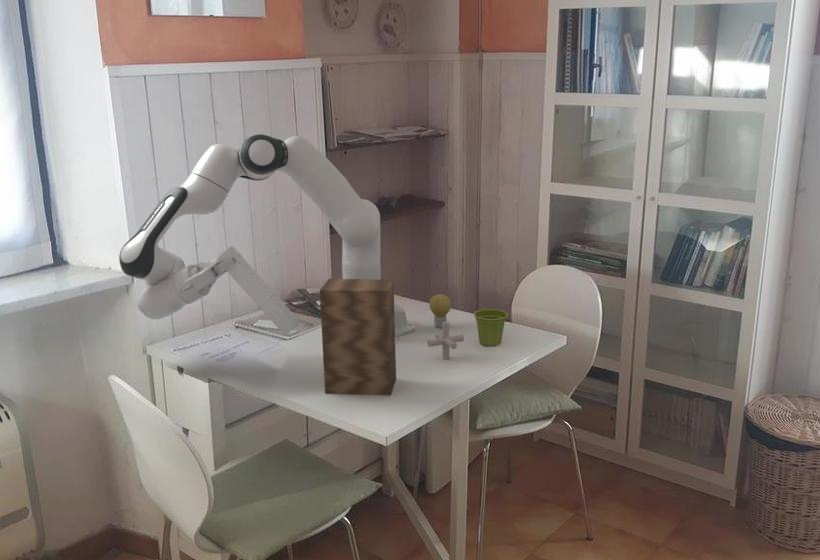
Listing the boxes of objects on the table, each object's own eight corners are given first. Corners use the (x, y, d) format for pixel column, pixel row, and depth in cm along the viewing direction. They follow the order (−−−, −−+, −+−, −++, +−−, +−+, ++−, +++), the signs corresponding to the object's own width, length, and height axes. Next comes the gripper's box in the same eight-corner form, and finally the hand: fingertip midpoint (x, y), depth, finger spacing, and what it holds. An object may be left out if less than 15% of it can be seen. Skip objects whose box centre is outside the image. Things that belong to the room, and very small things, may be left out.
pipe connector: (437, 367, 202) (436, 331, 200) (421, 355, 211) (420, 320, 208) (471, 361, 206) (471, 325, 203) (454, 349, 215) (454, 314, 212)
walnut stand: (325, 393, 187) (319, 290, 180) (333, 377, 197) (328, 278, 190) (390, 395, 186) (387, 291, 179) (396, 379, 195) (393, 279, 188)
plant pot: (488, 335, 226) (488, 306, 223) (514, 342, 219) (514, 313, 217) (466, 343, 219) (466, 314, 217) (492, 351, 213) (493, 321, 210)
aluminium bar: (216, 259, 195) (227, 249, 194) (221, 255, 199) (232, 245, 198) (285, 335, 199) (296, 326, 198) (289, 330, 202) (300, 321, 201)
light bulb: (435, 331, 230) (435, 299, 227) (426, 325, 235) (425, 293, 233) (454, 328, 232) (454, 296, 229) (445, 322, 238) (444, 290, 235)
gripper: (170, 283, 189) (215, 257, 186) (201, 262, 209) (243, 238, 206) (184, 305, 190) (229, 279, 187) (214, 282, 210) (255, 259, 207)
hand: (236, 258), depth 196 cm, fingers closed on aluminium bar, 4 cm apart
